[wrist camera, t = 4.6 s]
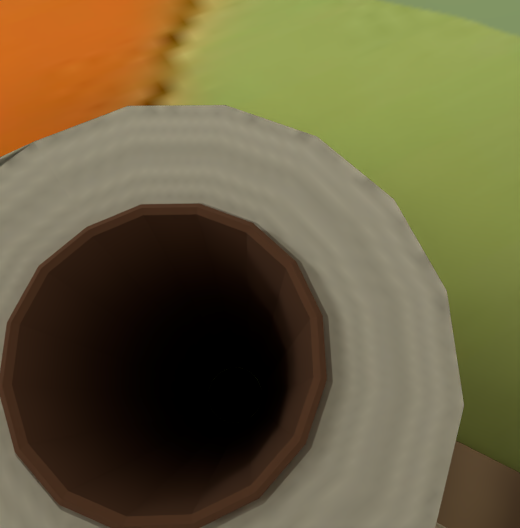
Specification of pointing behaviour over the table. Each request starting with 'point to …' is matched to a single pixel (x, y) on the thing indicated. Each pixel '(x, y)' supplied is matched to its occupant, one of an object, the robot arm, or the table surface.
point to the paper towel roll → (215, 332)
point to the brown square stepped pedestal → (479, 492)
